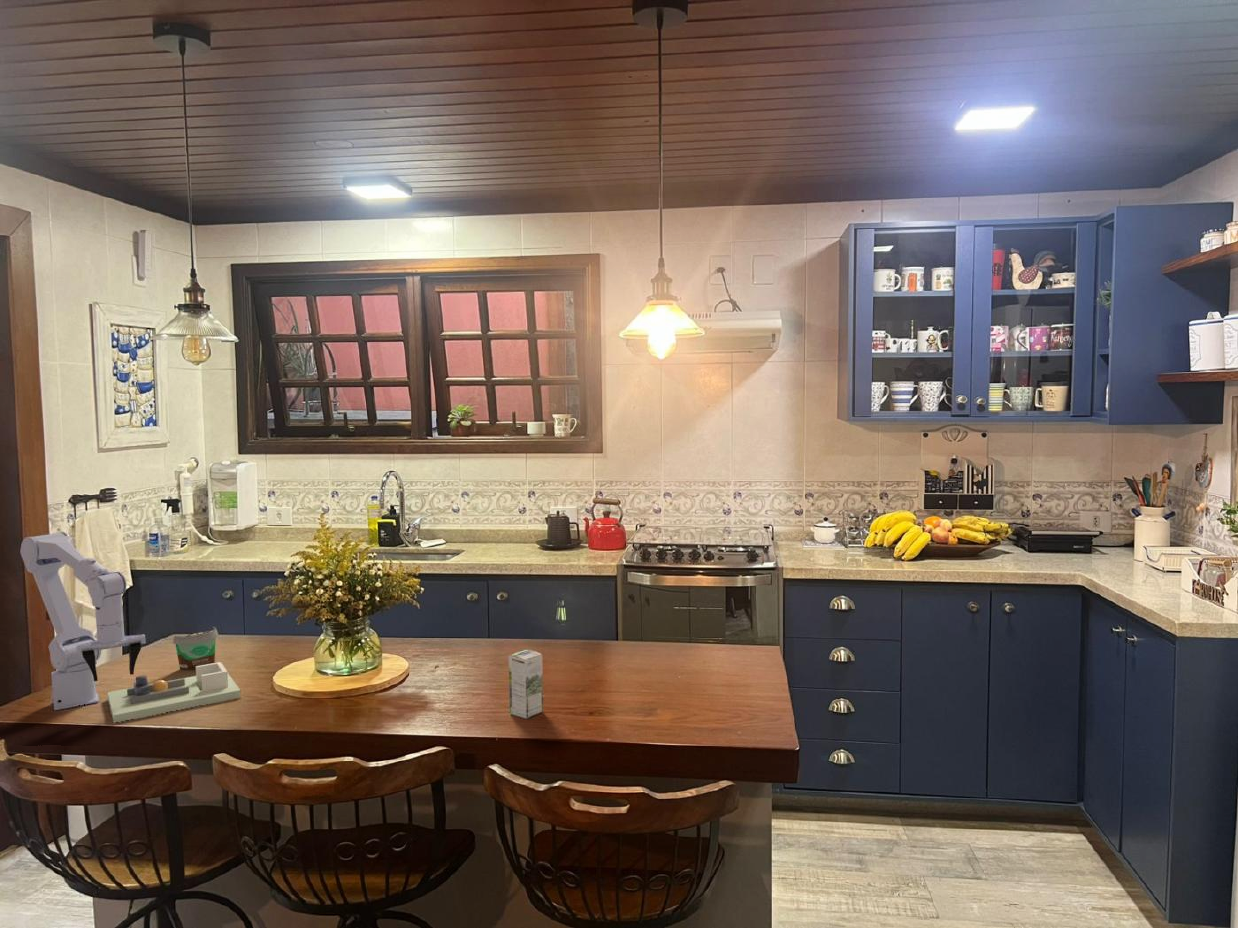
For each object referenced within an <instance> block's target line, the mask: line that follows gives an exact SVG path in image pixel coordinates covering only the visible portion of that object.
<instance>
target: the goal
mask: <svg viewBox="0 0 1238 928" xmlns="http://www.w3.org/2000/svg"><path fill="white" fill-rule="evenodd" d="M227 672H228V670H227V669H226V668H225V666H224V664H223V663H222V662H221V661H219V662H218V661H217V662H215V663H212V664H206V665H201V666H196V670H195V676H196V678H197V682H201V681H202V689H201V691H208V690H213V689H218V688H223V687H228V674H229V673H228V674H227Z"/></svg>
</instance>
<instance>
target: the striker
mask: <svg viewBox="0 0 1238 928" xmlns="http://www.w3.org/2000/svg"><path fill="white" fill-rule="evenodd" d="M149 685H150V683H149V681H148V676H147V675H138V676H136V677H135V682H133V687H134V694H135V696H139V695H144V694H150V686H149Z"/></svg>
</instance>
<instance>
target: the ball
mask: <svg viewBox="0 0 1238 928" xmlns="http://www.w3.org/2000/svg"><path fill="white" fill-rule="evenodd" d="M166 681H167V680H166ZM166 681H165V680H163V679H157V680H156V681H154V683H152V684H153V686H152V690H153V692H154V693H155V692H160V691H166V690H167V688H168V684H167V682H166Z"/></svg>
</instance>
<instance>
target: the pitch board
mask: <svg viewBox="0 0 1238 928" xmlns="http://www.w3.org/2000/svg"><path fill="white" fill-rule="evenodd" d="M227 674H228V687H223V688H218V689H213V690H208V691H202V681H201V682H197V678H196V675H195V676H188V677H184V678H183V677H182V678H177V679H173V680H171V679H170V680H168V681H167V680H166V682H167V684H168V688H167V690H166V691H160V692H155V693H154V692H153V690H152V686H153V684H154V683H151V684H150V683H149V686H150V694H144V695H139V696H135V694H134V686H133V687H129V688H123V689H117V690H112V691H108V692H107V702H108V706H109V705H110V706H109V709H110V710H109V711H110V713H111V717H112V722H113V724H116V723H115V722H119V723H122V722H121V721H124V722H126V721H125V720H129V719H134V720H138V718H139V719H142V718H143V719H144V718H148V716H149V717H153V716H157V714H158V715H162V714H161V713H163V714H166V712H168V713H170V712H169V711H173V712H177V711H176V710H178V711H182V710H181V709H183V710H186V709H185V708H188V709H190V707H193V708H196V707H195V706H198V707H200V706H199V705H203V706H207V705H206V704H208V705H212V704H217V703H221V702H227V701H231V700H236V699H241V698H242V694H241V689H240V688H239V686H238V685H237V684H236V682H235V681H234V679H233V678H232V677H231V675H230V674H229V671H227ZM152 715H153V716H152ZM129 721H130V720H129Z"/></svg>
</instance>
